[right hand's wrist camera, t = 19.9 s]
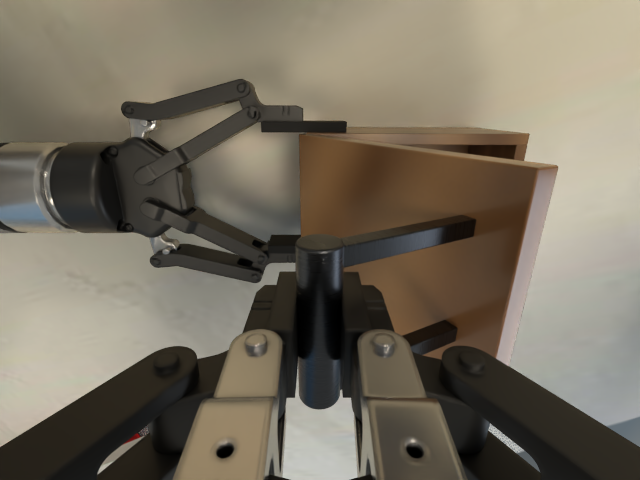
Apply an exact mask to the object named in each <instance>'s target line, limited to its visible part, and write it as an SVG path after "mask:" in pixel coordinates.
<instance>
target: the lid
mask: <svg viewBox="0 0 640 480" xmlns="http://www.w3.org/2000/svg"><path fill="white" fill-rule="evenodd" d="M299 155H300V208H301V238H299V239H298V240H297V241H296V243H295V259H296V295H297V325H298V376H299V396H300V399H301V400H302V402H303V403H304V404H305V405H306V406H308V407H310V408H313V409H326V408H329V407H331V406H332V405H334V404H335V403H336V402H337V400H338V399H339V396H340V390H341V389H342V379H341V366H340V336H341V298H342V296H343V273H344V272H359V276H360V280H361V285H374V286H375V287H376V288H377V289H378V290H379V291H381V292H382V295H383V298H384V302H385V304H386V307H387V310H388V313H389V316H390V319H391V322H392V325H393V328H394V331H395V332H396V333H398V334H400V335H401V336H403V337H404V338H405V339H406V340H407V341H408V343H409V345H410V348H411V351H412V352H414V353H417V354H420V355H424V356H428V357H432V358H437V359H442V354H443V352H444V351H445V350H446V349H447V348H449V347H452V346H459V345H460V346H470V347H474V348H477V349H480V350H482V351H484V352H486V353H488V354H490V355H491V356H493V357H494V358H496V359H498V360H499V361H501V362H503V363H504V364H506V365H507V366H509V364H510V360H511V356H512V352H513V348H514V344H515V340H516V336H517V332H518V328H519V324H520V320H521V316H522V312H523V308H524V304H525V299H526V295H527V291H528V287H529V283H530V279H531V275H532V271H533V267H534V263H535V259H536V255H537V251H538V247H539V243H540V239H541V235H542V231H543V227H544V223H545V219H546V215H547V211H548V207H549V203H550V199H551V195H552V191H553V187H554V183H555V179H556V175H557V171H558V166H556V165H550V164H542V163H535V162H527V161H519V160H511V159H504V158H496V157H488V156H480V155H473V154H465V153H457V152H450V151H442V150H434V149H426V148H419V147H411V146H403V145H395V144H388V143H380V142H372V141H364V140H357V139H349V138H341V137H333V136H326V135H318V134H299Z"/></svg>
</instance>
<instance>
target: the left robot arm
mask: <svg viewBox="0 0 640 480" xmlns="http://www.w3.org/2000/svg"><path fill="white" fill-rule="evenodd" d="M236 101H240V103H241V106H242V108H243V109H242V110H241V111H239V112H237V113H236V114H234V115H232V116H231V117H229V118H227V119H225V120H224V121H222V122H220V123H219V124H217V125H215V126H214V127H212V128H210V129H209V130H207V131H205V132H203V133H202V134H200V135H198V136H197V137H195V138H193V139H192V140H190V141H188V142H187V143H185V144H183V145H181V146H180V147H177V148H175V149H173V150H172V151H168V150H167V149H165V148H164V147H162V146H161V145H159V144H158V143H156V142H155V141H153V140H152V139H150V138H149V133H150V132H151V131H152V130H156V129H159V127H160V126H161V120H166V119H174V118H178V117H182V116H185V115H189V114H193V113H196V112H200V111H203V110H207V109H211V108H214V107H218V106H221V105H225V104H229V103H232V102H236ZM121 110H122V113H123V115H124V116H126V117H127V118H129V122H130V133H131V138H128V139H127V140H125V141H124V142H119V143H118V142H76V143H70V144H67V143H64V142H12V143H0V233H76V232H82V233H129V232H135V233H139V234H142V235H144V236H146V237H149V238H150V241H151V245H152V248H153V252H154V255H153V256H152V257H151V258H150V263H151V265H152V266H154V267H157V268H160V267H171V266H180V267H184V268H189V269H193V270H198V271H202V272H207V273H211V274H216V275H221V276H225V277H230V278H234V279H239V280H243V281H248V282H252V283H258V282H260V281H261V279H262V276H263V273H264V270H265V267H266V266H267V265H268V264H269V263H292V262H293V263H296V259H295V243H296V241H297V240H298V239H299V238H301V235H271V238H270V241H269V240H268V243H266V242H264V241H262V240H260V239H258V238H256V237H254V236H252V235H250V234H248V233H246V232H243V231H241V230H239V229H237V228H235V227H233V226H231V225H229V224H227V223H225V222H223V221H221V220H218V219H216V218H214V217H212V216H210V215H208V214H206V212H205V211H204V210H202V209H200V208H198V207H196V206H194V205H193V204H195V200H194V194H193V192H192V189H191V187H190V184H191V170H190V168H188V167H187V165H186V164H187V163H189V162H190V161H192V160H194V159H196V158H197V157H199V156H200V155H202V154H204V153H205V152H207V151H209V150H211V149H212V148H214V147H216V146H218V145H219V144H221V143H223V142H224V141H226V140H228V139H230V138H231V137H233V136H235V135H237V134H238V133H240V132H242V131H243V130H245V129H247V128H249V127H250V126H252V125H254V124H256V123H257V122H261V130H262V132H346V131H347V122H345V121H303V108H301V107H298V106H266V105H263V104H262V103H261V102H260V101H259V99H258V97H257V95H256V92H255V87H254V85H253V84H252V83H250V82H248V81H246V80H243V79H238V80H235V81H231V82H227V83H224V84H220V85H217V86H213V87H210V88H206V89H203V90H199V91H196V92H192V93H188V94H185V95H181V96H178V97H174V98H171V99H167V100H164V101H160V102H156V103H147V102H130V101H128V102H124V103H123V104H122V106H121ZM171 227H173V228H175V229H178V230H180V231H182V232H184V233H188V234H195V235H197V236H199V237H201V238H203V239H205V240H208V241H210V242H212V243H214V244H216V245H218V246H220V247H223V248H225V249H227V250H229V251H231V252H233V253H235V254H238V255H235V254H231V253H227V252H222V251H218V250H214V249H209V248H205V247H200V246H196V245H191V244H179V241H178V240H177V239H170V238H168V237H167V236H166V235H165V233H164V232H166V231H167V230H168V229H170V228H171Z"/></svg>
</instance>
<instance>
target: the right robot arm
mask: <svg viewBox="0 0 640 480" xmlns="http://www.w3.org/2000/svg"><path fill="white" fill-rule="evenodd" d="M297 366H298V325H297V295H296V272H280V273H279V277H278V281H277V285H264V286H263V287H262V288H261V289H260V290H259V291H258V292H256V295H255V298H254V303H253V304H252V307H251V310H250V313H249V316H248V319H247V321H246V324H245V327H244V330H243V333H242V334H240V335H239V336H237V337H236V338H235V339H234V340H233V341H232V343H231V345H230V348H229V350H227V351H225V352H223V353H221V354H218V355H214V356H210V357H205V358H201V359H197V355H196V353H195V352H194V351H193V350H192V349H190V348H187V347H182V346H174V347H168V348H164V349H161V350H158V351H156V352H154V353H152V354H150V355H149V356H147V357H146V358H144V359H142V360H141V361H139V362H137V363H136V364H134V365H133V366H131V367H129V368H128V369H126V370H124V371H123V372H121V373H120V374H118V375H116V376H115V377H113V378H112V379H110V380H108V381H107V382H105V383H103V384H102V385H100V386H99V387H97V388H95V389H94V390H92V391H90V392H89V393H87V394H86V395H84V396H82V397H81V398H79V399H78V400H76V401H74V402H73V403H71V404H69V405H68V406H66V407H65V408H63V409H61V410H60V411H58V412H56V413H55V414H53V415H52V416H50V417H48V418H47V419H45V420H44V421H42V422H40V423H39V424H37V425H35V426H34V427H32V428H31V429H29V430H27V431H26V432H24V433H22V434H21V435H19V436H18V437H16V438H14V439H13V440H11V441H10V442H8V443H6V444H5V445H3V446H1V447H0V480H289V479H286V478H282V475H283V460H284V445H285V430H286V408H285V406H286V398H295V390H296V378H297ZM340 366H341V379H342V391H343V398H351V400H352V408H353V412H354V430H355V445H356V460H357V475H358V478H354V479H351V480H640V447H639V446H637V445H635V444H634V443H632V442H630V441H629V440H627V439H626V438H624V437H622V436H621V435H619V434H618V433H616V432H614V431H613V430H611V429H609V428H608V427H606V426H605V425H603V424H601V423H600V422H598V421H596V420H595V419H593V418H592V417H590V416H588V415H587V414H585V413H584V412H582V411H580V410H579V409H577V408H575V407H574V406H572V405H571V404H569V403H567V402H566V401H564V400H562V399H561V398H559V397H558V396H556V395H554V394H553V393H551V392H550V391H548V390H546V389H545V388H543V387H541V386H540V385H538V384H537V383H535V382H533V381H532V380H530V379H528V378H527V377H525V376H524V375H522V374H520V373H519V372H517V371H516V370H514V369H512V368H511V367H509V366H507V365H506V364H504V363H503V362H501V361H499V360H498V359H496V358H494V357H493V356H491V355H490V354H488V353H486V352H484V351H482V350H480V349H477V348H474V347H470V346H460V345H459V346H452V347H449V348H447V349H446V350H445V351H444V352H443V354H442V359H437V358H432V357H428V356H424V355H420V354H417V353H414V352H412V351H411V348H410V345H409V343H408V341H407V340H406V339H405V338H404V337H403V336H401V335H400V334H398V333H396V332H395V331H394V328H393V325H392V322H391V319H390V316H389V313H388V310H387V307H386V304H385V302H384V298H383V295H382V292H381V291H379V290H378V289H377V288H376V287H375V286H374V285H361V280H360V276H359V272H344V273H343V296H342V298H341V336H340ZM490 423H491V424H492V425H493V426H494V427H496V428H497V429H498V430H500V431H501V432H502V433H503V434H505V435H506V436H507V437H508V438H510V439H511V440H512V441H513V442H515V443H516V444H517V445H519V446H520V447H521V448H522V449H524V450H525V451H526V452H527V453H528V454H529V455H530V456H531V457H532V458H533V459H534V460H535V462H536V463H537V465H538V467H539V469H540V472H539V471H537V470H536V469H535V468H534V467H532V466H531V465H530V464H529V463H528V462H526V461H525V460H524V459H523V458H521V457H520V456H519V455H518V454H516V453H515V452H514V451H513V450H512V449H510V448H509V447H508V446H507V445H505V444H504V443H503V442H502V441H500V440H499V439H498V438H497V437H496V436H494V435H493V434H492V433H491V432H489V431H488V429H489V425H490ZM147 425H148V428H149V433H148V434H147V435H146V436H144V437H143V438H142V439H141V440H140V441H138V442H137V443H136V444H135V445H133V446H132V447H131V448H130V449H128V450H127V451H126V452H125V453H124V454H122V455H121V456H120V457H119V458H117V459H116V460H115V461H114V462H112V463H111V464H110V465H109V466H108V467H106V468H105V469H104V470H103V471H101V472H100V473H99V474H98V471H99V469H100V467H101V465H102V463H103V462H104V461H105V459H106V458H107V457H108V456H109V455H110V454H111V453H113V452H114V451H115V450H116V449H118V448H119V447H120V446H121V445H123V444H124V443H125V442H127V441H128V440H129V439H130V438H132V437H133V436H134V435H135V434H137V433H138V432H139V431H140V430H142V429H143V428H144V427H146V426H147ZM97 474H98V475H97Z"/></svg>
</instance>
